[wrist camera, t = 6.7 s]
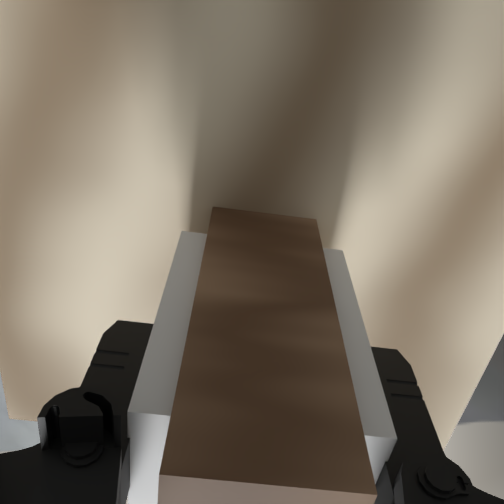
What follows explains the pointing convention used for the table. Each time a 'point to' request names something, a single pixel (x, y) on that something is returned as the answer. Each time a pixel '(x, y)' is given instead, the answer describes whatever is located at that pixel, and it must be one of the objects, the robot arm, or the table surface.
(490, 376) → the table surface
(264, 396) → the lid
